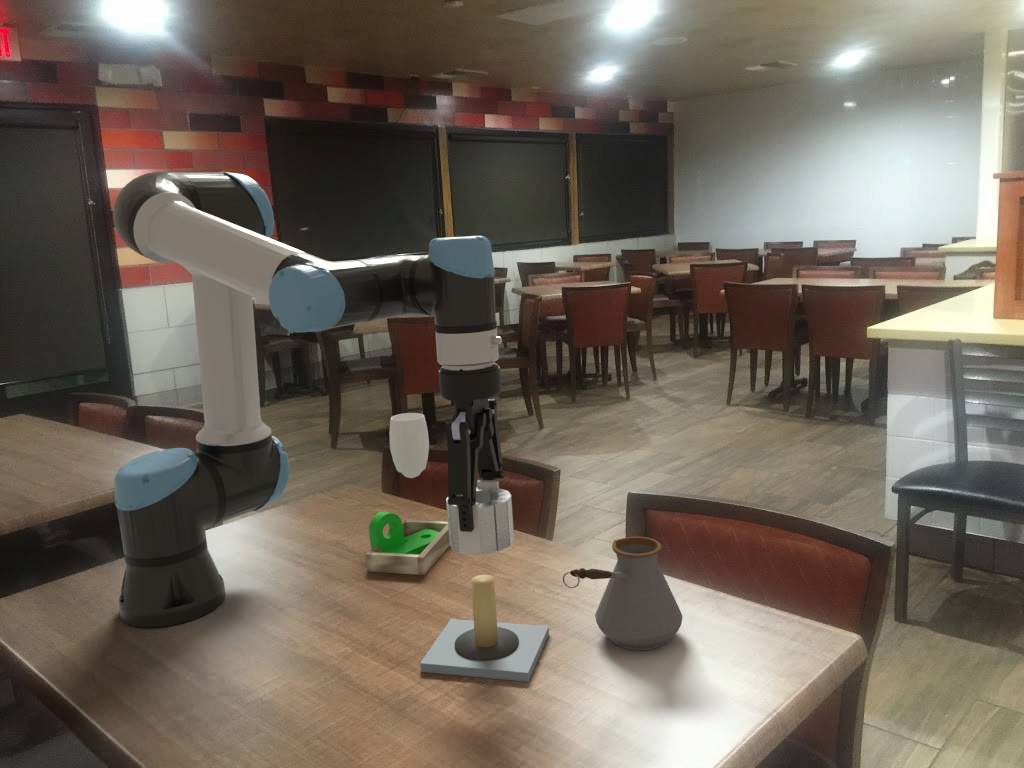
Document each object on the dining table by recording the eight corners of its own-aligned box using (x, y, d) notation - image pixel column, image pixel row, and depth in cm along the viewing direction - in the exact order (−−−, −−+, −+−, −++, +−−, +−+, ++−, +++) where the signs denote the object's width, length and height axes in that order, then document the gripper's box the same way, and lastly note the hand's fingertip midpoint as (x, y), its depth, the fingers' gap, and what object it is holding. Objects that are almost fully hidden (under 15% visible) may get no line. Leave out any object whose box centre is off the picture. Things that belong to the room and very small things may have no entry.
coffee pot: (624, 608, 120) (621, 509, 117) (697, 629, 113) (696, 524, 110) (535, 676, 104) (529, 562, 101) (614, 705, 97) (611, 583, 94)
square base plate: (420, 671, 106) (414, 596, 104) (451, 626, 118) (446, 558, 116) (528, 681, 103) (524, 604, 101) (549, 634, 114) (545, 563, 112)
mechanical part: (394, 569, 138) (388, 523, 137) (373, 561, 142) (366, 516, 141) (449, 545, 146) (444, 501, 145) (428, 538, 150) (423, 496, 149)
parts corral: (367, 571, 138) (365, 554, 137) (403, 535, 153) (402, 519, 152) (424, 575, 135) (423, 557, 135) (455, 537, 150) (454, 521, 150)
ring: (441, 553, 104) (437, 507, 103) (461, 529, 112) (458, 486, 111) (503, 555, 102) (500, 508, 101) (520, 531, 110) (517, 487, 109)
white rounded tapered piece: (442, 520, 160) (435, 413, 156) (418, 532, 154) (410, 422, 150) (412, 514, 164) (404, 410, 160) (388, 526, 158) (379, 419, 154)
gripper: (472, 380, 92) (486, 575, 96) (519, 350, 111) (529, 513, 116) (408, 381, 94) (424, 572, 98) (465, 351, 113) (477, 511, 118)
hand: (481, 540), depth 107 cm, fingers closed on ring, 8 cm apart
